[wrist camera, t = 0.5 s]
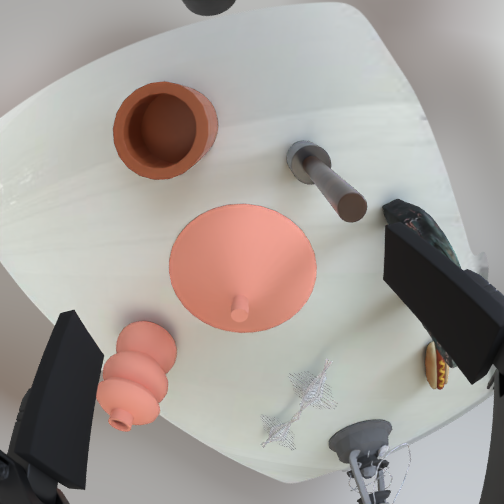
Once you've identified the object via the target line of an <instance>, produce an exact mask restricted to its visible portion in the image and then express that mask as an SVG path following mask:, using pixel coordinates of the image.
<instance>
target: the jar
mask: <svg viewBox="0 0 504 504" xmlns="http://www.w3.org/2000/svg"><path fill="white" fill-rule="evenodd" d="M217 130H218V120H217V115H216V111H215V109H214V107H213V105H212V104H211V102H210V101H209V100H208V99H207V98H206V97H205V96H204V95H203V94H201V93H200V92H198V91H196V90H194V89H192V88H189V87H185V86H182V85H179V84H175V83H170V82H156V83H150V84H147V85H145V86H143V87H141V88H139V89H137V90H135V91H134V92H133V93H132V94H131V95H130V96H128V97H127V98H126V99H125V100H124V102H123V103H122V105H121V107H120V108H119V110H118V112H117V114H116V118H115V122H114V126H113V136H114V144H115V147H116V150H117V152H118V155H119V157H120V158H121V160H122V161H123V162H124V163H125V165H126V166H127V167H128V168H129V169H130V170H132V171H133V172H135V173H136V174H138V175H139V176H142V177H146V178H150V179H154V180H159V179H170V178H173V177H176V176H178V175H181V174H183V173H184V172H186V171H187V170H188V169H190V168H191V167H192V166H193V165H195V164H196V163H197V162H198V161H199V160H200V159H201V158H202V157H203V156H204V155H205V154H206V153H207V152H208V151H209V149H210V148H211V147H212V145H213V143H214V141H215V138H216V135H217Z"/></svg>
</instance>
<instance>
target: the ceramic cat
mask: <svg viewBox="0 0 504 504" xmlns="http://www.w3.org/2000/svg"><path fill="white" fill-rule="evenodd" d="M383 211H384V215H385V218H386V220H387V222H388V224H393V223H396V222H401V223H403V224H404V225H405V226H407V227H408V228H410V229H411V230H412V231H414V232H415V233H416V234H418V235H419V236H420V237H422V238H423V239H424V240H426V241H427V242H428V243H430V244H431V245H432V246H434V247H435V248H436V249H437V250H439V251H440V252H441V253H442V254H444V255H445V256H446V257H448V258H449V259H450V260H451V261H452V262H454V263H455V264H456V265H457V266H459V267H460V264H459V261H458V259H457V256H456V254H455V252H454V250H453V248H452V246H451V245H450V243H449V241H448V239H447V238H446V236H445V234H444V233H443V231H442V230H441V229H440V228H439V226H438V225H437V223H436V222H435V221H434V219H433V218H432V217H431V216H430V215H429V214H427V213H426V212H425V211H424V210H423V209H421V208H420V207H418V206H415V205H412V204H410V203H406V202H404V201H402V200H400V199H396V200H394V201H392V202H390V203H389V204H386V205H384V206H383ZM460 268H461V267H460ZM423 326H424V325H423ZM424 328H425V329H426V330H427V328H426V327H425V326H424ZM427 332H428V333H429V335H430V336H431V338H432V339H433V341H434V343H435V345H436V347H437V349H438V351H439V353H440V355H441V356H442V358H443V359H444V361H445V362H446V363H447V365H448V366H449V367H450V368H454V367H457V365H456V364H455V363H454V361H453V360H452V359H451V358H450V356H449V355H448V354H447V353H446V351H445V350H444V349H443V348H442V346H441V345H440V344H439V343H438V342H437V340H436V339H435V338H434V337H433V336H432V334H431V333H430V332H429V331H428V330H427Z"/></svg>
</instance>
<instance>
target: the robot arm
mask: <svg viewBox="0 0 504 504" xmlns="http://www.w3.org/2000/svg"><path fill="white" fill-rule="evenodd" d="M383 280H384V281H385V282H386V283H387V284H388V285H389V287H390V288H391V289H392V290H393V291H394V292H395V293H396V294H397V295H398V296H399V298H400V299H401V300H402V301H403V302H404V303H405V304H406V305H407V307H408V308H409V309H410V310H411V311H412V312H413V313H414V315H415V316H416V317H417V318H418V319H419V320H420V321H421V323H422V324H423V325H424V326H425V327H426V328H427V330H428V331H429V332H430V333H431V334H432V336H433V337H434V338H435V339H436V340H437V342H438V343H439V344H440V345H441V346H442V348H443V349H444V350H445V351H446V353H447V354H448V355H449V356H450V358H451V359H452V360H453V361H454V363H455V364H456V365H457V366H458V368H459V369H460V370H461V371H462V373H463V374H464V375H465V377H466V378H467V379H468V381H469V382H470V383H471V384H472V385H473V384H474V383H475V382H477V381H478V380H480V379H481V378H483V377H484V376H485V375H487V373H488V371H489V369H490V368H491V366H492V364H494V366H495V367H496V368H497V369H496V371H495V372H494V374H493V376H492V378H491V379H490V381H489V383H488V385H487V389H490V387H491V385H492V384H493V382H494V387H493V389H494V408H493V424H492V434H491V443H490V451H489V457H488V464H487V470H486V475H485V480H484V486H483V490H482V494H481V498H480V502H479V504H504V296H503V295H502V294H501V293H500V292H499V291H496V288H495V287H493V286H492V285H491V284H489V282H488V281H487V280H485V279H484V278H483V277H482V276H481V275H479V274H477V273H475V272H473V271H471V270H468V269H466V270H464V271H463V270H462V269H461V268H460V267H459V266H457V265H456V264H455V263H454V262H452V261H451V260H450V259H449V258H448V257H446V256H445V255H444V254H442V253H441V252H440V251H439V250H437V249H436V248H435V247H434V246H432V245H431V244H430V243H428V242H427V241H426V240H424V239H423V238H422V237H420V236H419V235H418V234H416V233H415V232H414V231H412V230H411V229H410V228H408V227H407V226H405V225H404V224H403V223H401V222H396V223H393V224H389V225H386V226H385V257H384V276H383ZM103 358H104V354H103V353H102V352H101V350H100V349H99V347H98V346H97V344H96V343H95V341H94V340H93V338H92V337H91V335H90V334H89V332H88V331H87V329H86V328H85V326H84V325H83V323H82V322H81V320H80V318H79V317H78V315H77V313H76V312H75V310H71V311H67V312H63V313H60V315H59V318H58V320H57V322H56V324H55V327H54V329H53V331H52V334H51V336H50V339H49V341H48V344H47V346H46V349H45V351H44V354H43V356H42V359H41V362H40V364H39V367H38V370H37V373H36V376H35V378H34V381H33V384H32V387H31V388H30V389H29V390H28V391H27V393H26V394H25V396H24V398H23V399H22V402H21V406H20V409H19V413H18V415H17V419H16V420H17V422H16V423H15V426H14V430H13V433H12V437H11V441H10V445H9V450H8V453H7V455H6V454H5V453H4V452H2V451H1V450H0V504H69V502H68V500H67V499H66V497H65V496H64V494H63V493H62V492H61V490H60V489H58V488H57V485H58V482H59V483H60V484H62V485H64V486H66V487H67V488H71V489H83V490H85V485H86V471H87V460H88V451H89V442H90V433H91V426H92V419H93V412H94V406H95V400H96V394H97V389H98V383H99V378H100V373H101V368H102V363H103Z"/></svg>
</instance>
